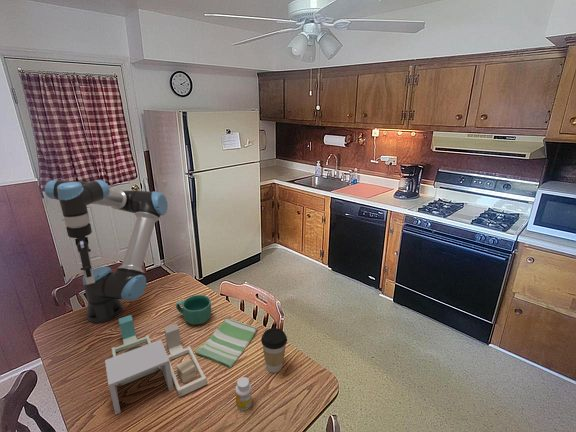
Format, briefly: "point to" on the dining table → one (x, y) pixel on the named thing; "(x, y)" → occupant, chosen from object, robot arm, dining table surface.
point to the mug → (195, 309)
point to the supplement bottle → (243, 394)
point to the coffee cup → (274, 348)
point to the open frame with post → (176, 351)
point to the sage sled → (130, 343)
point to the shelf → (136, 367)
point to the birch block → (186, 370)
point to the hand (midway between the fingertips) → (89, 275)
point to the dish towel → (227, 342)
